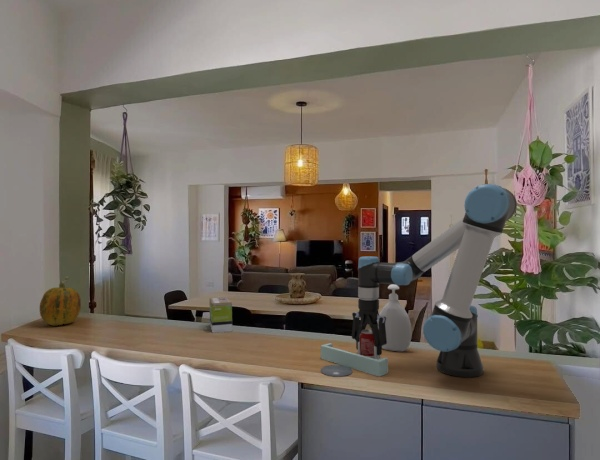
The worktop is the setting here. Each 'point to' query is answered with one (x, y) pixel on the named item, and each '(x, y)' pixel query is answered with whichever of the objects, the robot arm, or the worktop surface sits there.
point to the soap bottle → (396, 324)
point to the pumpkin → (60, 305)
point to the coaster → (336, 370)
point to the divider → (354, 360)
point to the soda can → (367, 343)
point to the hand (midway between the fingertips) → (368, 361)
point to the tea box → (220, 314)
